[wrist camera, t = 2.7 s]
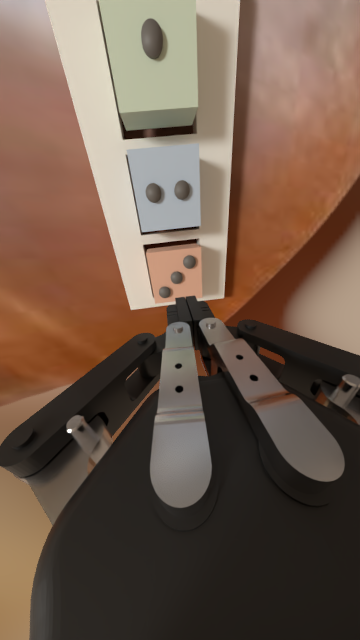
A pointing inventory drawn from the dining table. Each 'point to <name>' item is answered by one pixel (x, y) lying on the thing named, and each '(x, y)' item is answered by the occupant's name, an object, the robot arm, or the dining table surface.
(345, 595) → the robot arm
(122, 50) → the tile one
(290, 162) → the dining table surface
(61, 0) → the board
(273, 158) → the dining table surface
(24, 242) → the dining table surface
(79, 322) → the dining table surface
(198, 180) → the tile two
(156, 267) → the tile three
